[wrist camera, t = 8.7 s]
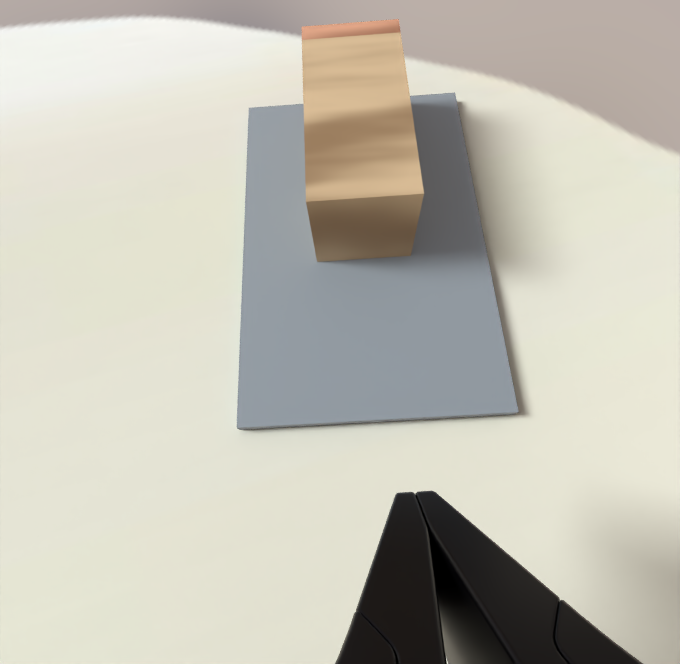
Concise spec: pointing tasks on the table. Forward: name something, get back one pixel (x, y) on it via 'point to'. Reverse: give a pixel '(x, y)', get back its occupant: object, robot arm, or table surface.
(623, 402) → the table surface
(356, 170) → the oak block
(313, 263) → the mat
